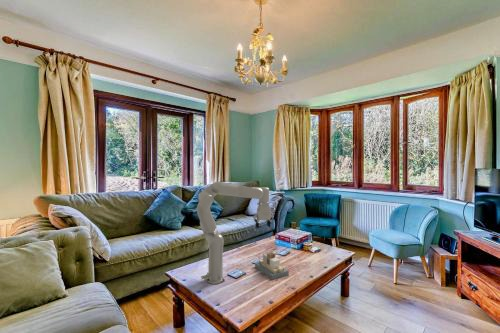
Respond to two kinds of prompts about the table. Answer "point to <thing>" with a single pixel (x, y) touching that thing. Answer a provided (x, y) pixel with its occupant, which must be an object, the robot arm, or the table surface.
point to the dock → (270, 273)
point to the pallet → (275, 270)
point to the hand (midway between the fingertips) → (263, 227)
